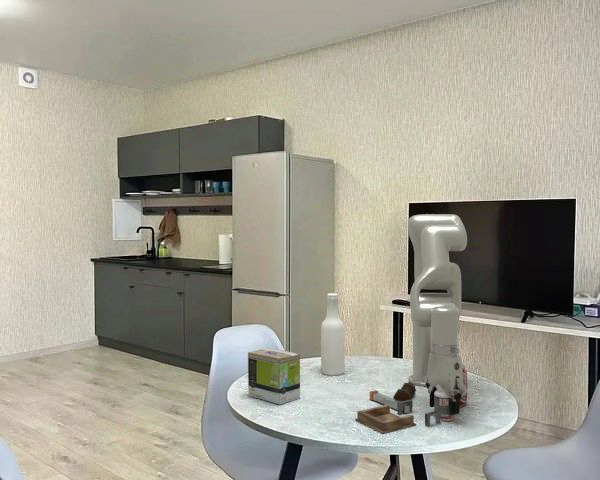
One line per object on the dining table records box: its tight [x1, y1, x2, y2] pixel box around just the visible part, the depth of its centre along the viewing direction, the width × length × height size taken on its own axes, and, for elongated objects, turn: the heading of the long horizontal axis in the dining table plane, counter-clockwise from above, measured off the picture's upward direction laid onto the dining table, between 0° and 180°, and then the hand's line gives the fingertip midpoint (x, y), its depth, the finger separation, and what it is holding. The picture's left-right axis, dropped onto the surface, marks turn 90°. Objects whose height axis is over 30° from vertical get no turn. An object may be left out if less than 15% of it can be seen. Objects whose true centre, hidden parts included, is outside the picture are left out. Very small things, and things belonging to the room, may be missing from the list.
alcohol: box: [320, 292, 346, 377], centre depth 212 cm, size 9×9×30 cm
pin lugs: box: [396, 399, 442, 428], centre depth 162 cm, size 5×12×3 cm, turn 31°
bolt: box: [392, 382, 417, 402], centre depth 180 cm, size 6×5×15 cm
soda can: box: [454, 364, 468, 408], centre depth 174 cm, size 7×7×12 cm
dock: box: [354, 404, 417, 435], centre depth 158 cm, size 12×12×3 cm
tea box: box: [247, 347, 301, 405], centre depth 183 cm, size 15×10×15 cm, turn 47°
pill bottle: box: [433, 385, 455, 422], centre depth 162 cm, size 6×6×10 cm
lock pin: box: [369, 389, 411, 414], centre depth 173 cm, size 3×16×3 cm, turn 31°
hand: (444, 409), depth 162 cm, fingers open, 7 cm apart
